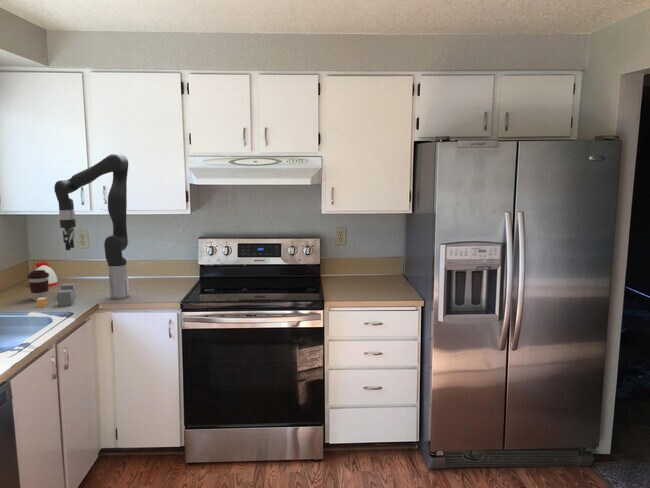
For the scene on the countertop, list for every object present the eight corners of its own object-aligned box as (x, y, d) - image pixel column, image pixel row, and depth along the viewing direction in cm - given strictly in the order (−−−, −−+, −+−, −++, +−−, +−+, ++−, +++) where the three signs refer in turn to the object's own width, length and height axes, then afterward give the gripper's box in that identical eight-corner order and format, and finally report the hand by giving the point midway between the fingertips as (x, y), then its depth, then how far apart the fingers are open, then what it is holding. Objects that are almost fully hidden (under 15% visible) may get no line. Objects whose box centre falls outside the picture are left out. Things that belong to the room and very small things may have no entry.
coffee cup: (27, 302, 272) (24, 273, 270) (32, 297, 282) (29, 270, 280) (48, 300, 275) (46, 272, 273) (52, 296, 285) (50, 268, 282)
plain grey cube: (76, 295, 285) (75, 282, 284) (74, 298, 280) (73, 285, 279) (64, 296, 284) (63, 283, 283) (61, 299, 278) (60, 286, 277)
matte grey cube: (74, 302, 270) (73, 289, 269) (71, 305, 265) (70, 292, 264) (61, 303, 269) (60, 290, 268) (58, 306, 263) (57, 292, 262)
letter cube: (47, 305, 267) (47, 297, 266) (45, 307, 263) (45, 299, 262) (39, 305, 266) (38, 297, 265) (37, 307, 262) (36, 299, 261)
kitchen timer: (32, 283, 316) (30, 259, 314) (58, 281, 322) (56, 257, 319) (30, 288, 303) (28, 262, 301) (57, 286, 309) (55, 260, 307)
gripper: (72, 219, 272) (74, 250, 274) (77, 217, 286) (80, 246, 288) (56, 220, 270) (59, 251, 273) (62, 217, 284) (65, 247, 286)
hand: (70, 248), depth 280 cm, fingers open, 8 cm apart
